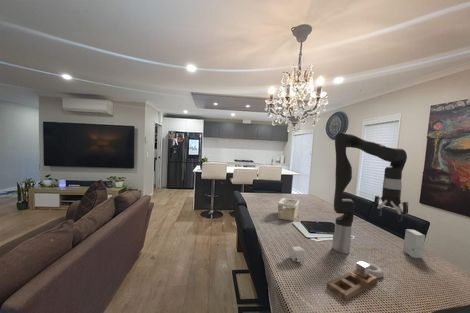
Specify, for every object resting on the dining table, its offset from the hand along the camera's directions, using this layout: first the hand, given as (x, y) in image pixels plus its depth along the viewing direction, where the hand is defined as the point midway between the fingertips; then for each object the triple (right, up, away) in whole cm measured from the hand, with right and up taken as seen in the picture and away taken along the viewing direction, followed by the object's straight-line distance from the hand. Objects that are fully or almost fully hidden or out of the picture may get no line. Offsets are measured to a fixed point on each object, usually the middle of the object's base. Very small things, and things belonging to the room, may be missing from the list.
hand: (389, 218), depth 106 cm
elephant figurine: (-44, -28, +12) cm, 53 cm away
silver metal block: (-17, -29, -4) cm, 34 cm away
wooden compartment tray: (-23, -30, -8) cm, 39 cm away
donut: (-7, -30, +3) cm, 31 cm away
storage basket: (-30, -24, +86) cm, 95 cm away
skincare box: (+33, -30, +24) cm, 51 cm away
